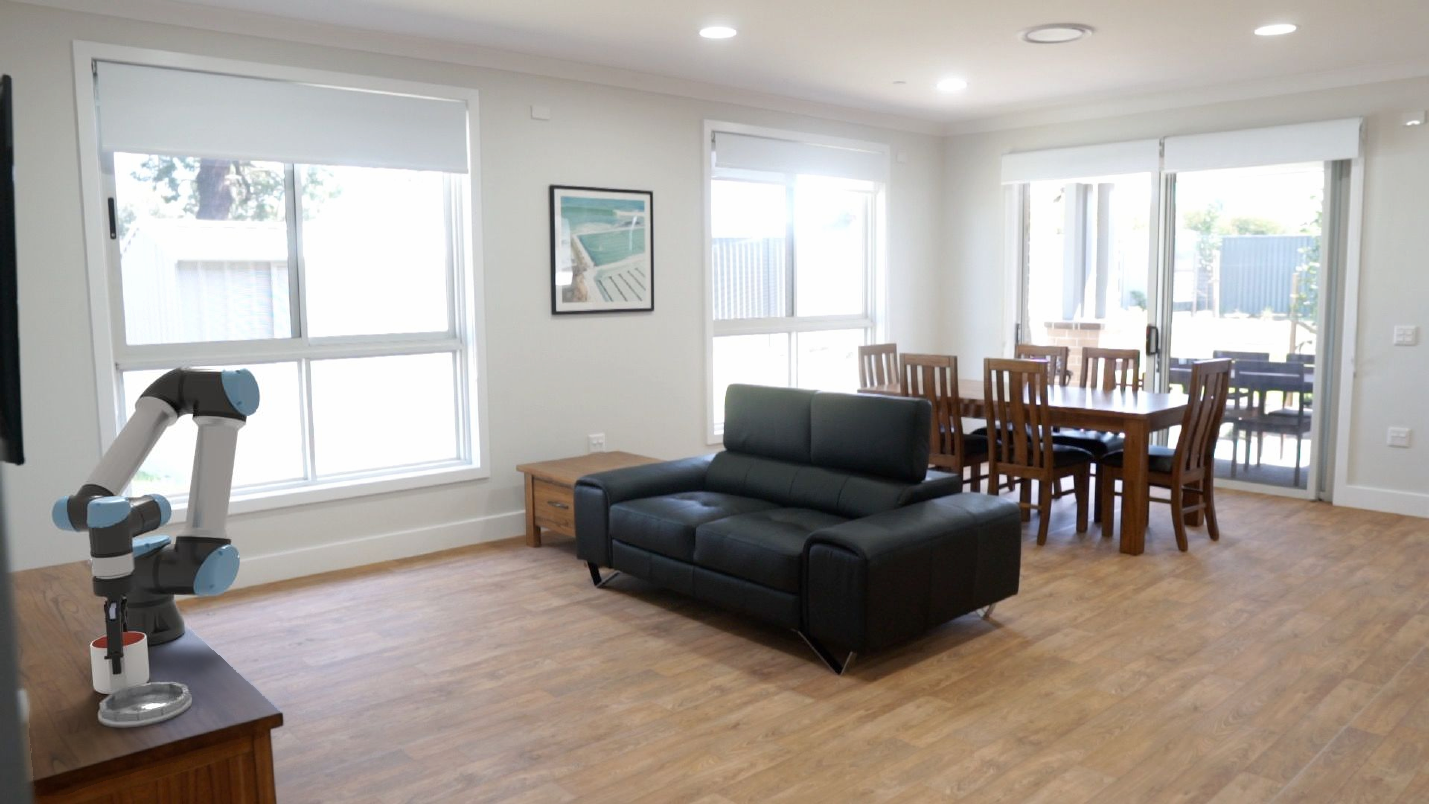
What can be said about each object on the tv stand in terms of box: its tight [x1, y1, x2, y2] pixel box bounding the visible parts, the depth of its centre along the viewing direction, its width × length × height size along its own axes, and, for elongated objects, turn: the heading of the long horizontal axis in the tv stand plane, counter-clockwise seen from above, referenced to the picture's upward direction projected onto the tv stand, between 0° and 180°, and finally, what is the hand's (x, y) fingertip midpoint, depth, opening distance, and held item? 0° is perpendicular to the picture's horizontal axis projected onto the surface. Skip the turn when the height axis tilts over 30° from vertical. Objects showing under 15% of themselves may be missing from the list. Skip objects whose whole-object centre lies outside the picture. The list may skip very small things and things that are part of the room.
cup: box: [89, 632, 150, 695], centre depth 209 cm, size 10×10×10 cm
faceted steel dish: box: [97, 681, 193, 729], centre depth 198 cm, size 16×16×2 cm
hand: (121, 678), depth 209 cm, fingers closed on cup, 10 cm apart
